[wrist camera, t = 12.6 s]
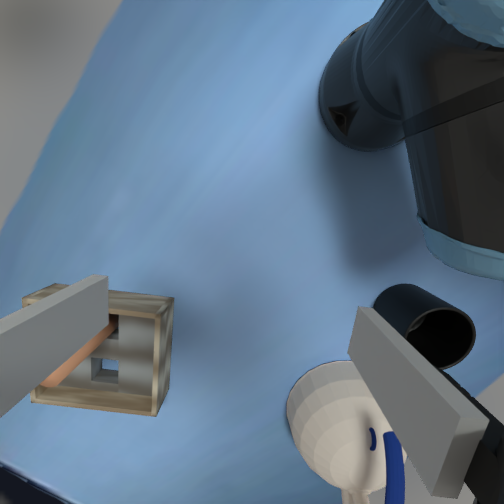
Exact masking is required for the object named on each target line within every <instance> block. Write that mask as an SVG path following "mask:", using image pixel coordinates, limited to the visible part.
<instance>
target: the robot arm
mask: <svg viewBox="0 0 504 504" xmlns="http://www.w3.org/2000/svg"><path fill="white" fill-rule="evenodd" d="M319 104H320V110H321V114H322V118H323V120H324V123H325V125H326V126H327V128H328V130H329V131H330V133H331V134H332V135H333V136H334V137H335V138H336V139H337V140H338V141H339V142H341V143H342V144H344V145H345V146H347V147H350V148H352V149H355V150H360V151H377V150H382V149H385V148H388V147H390V146H393V145H395V144H398V143H400V142H402V141H403V140H405V143H406V148H407V153H408V158H409V163H410V168H411V174H412V180H413V185H414V191H415V197H416V203H417V208H418V213H417V219H418V221H419V223H420V225H421V226H422V229H423V233H424V237H425V241H426V245H427V247H428V249H429V251H430V252H431V253H432V255H433V256H434V257H436V258H437V259H439V260H441V261H442V262H443V263H444V264H446V265H448V266H450V267H452V268H454V269H457V270H459V271H462V272H465V273H468V274H472V275H476V276H480V277H485V278H491V279H497V280H503V281H504V0H384V2H383V3H382V5H381V6H380V8H379V9H378V11H377V13H376V14H375V16H374V17H373V18H372V19H371V20H370V21H369V22H367V23H365V24H363V25H361V26H360V27H358V28H357V29H355V30H354V31H353V32H351V33H350V34H349V35H348V36H347V37H346V38H345V39H344V40H343V41H342V42H341V43H340V45H339V46H338V47H337V49H336V50H335V52H334V53H333V55H332V57H331V58H330V60H329V62H328V64H327V66H326V68H325V70H324V73H323V76H322V79H321V84H320V90H319ZM108 324H109V308H108V276H103V275H95V274H93V275H91V276H89V277H87V278H85V279H83V280H81V281H79V282H77V283H74V284H72V285H70V286H68V287H66V288H64V289H62V290H60V291H58V292H56V293H54V294H51V295H49V296H47V297H45V298H43V299H41V300H39V301H37V302H35V303H33V304H31V305H29V306H26V307H24V308H22V309H20V310H18V311H16V312H14V313H12V314H10V315H8V316H6V317H4V318H1V319H0V418H1V417H2V416H3V415H4V414H6V413H7V412H8V411H9V410H10V409H11V408H12V407H14V406H15V405H16V404H17V403H18V402H19V401H21V400H22V399H23V398H24V397H25V396H26V395H27V394H29V393H30V392H31V391H32V390H33V389H34V388H36V387H37V386H38V385H39V384H40V383H41V382H42V381H44V380H45V379H46V378H47V377H48V376H49V375H51V374H52V373H53V372H54V371H55V370H56V369H57V368H59V367H60V366H61V365H62V364H63V363H64V362H66V361H67V360H68V359H69V358H70V357H71V356H72V355H74V354H75V353H76V352H77V351H78V350H79V349H81V348H82V347H83V346H84V345H85V344H86V343H87V342H89V341H90V340H91V339H92V338H93V337H94V336H96V335H97V334H98V333H99V332H100V331H101V330H102V329H104V328H105V327H106V326H107V325H108ZM347 353H348V354H349V356H350V358H351V360H352V361H353V363H354V365H355V366H356V368H357V370H358V372H359V373H360V375H361V377H362V378H363V380H364V382H365V384H366V385H367V387H368V389H369V390H370V392H371V394H372V396H373V397H374V399H375V401H376V402H377V404H378V406H379V407H380V409H381V411H382V413H383V414H384V416H385V418H386V419H387V421H388V423H389V425H390V426H391V428H392V430H393V431H394V433H395V435H396V437H397V438H398V440H399V442H400V443H401V445H402V447H403V449H404V450H405V452H406V454H407V455H408V457H409V459H410V460H411V462H412V464H413V466H414V467H415V469H416V471H417V472H418V474H419V476H420V478H421V479H422V481H423V483H424V484H425V486H426V488H427V490H428V491H429V493H430V495H431V496H438V497H447V498H456V499H457V498H458V496H459V493H460V491H461V489H462V486H463V484H464V482H465V483H466V484H467V486H468V487H469V489H470V490H471V492H472V493H473V494H474V495H475V499H474V502H473V504H504V425H503V424H502V423H501V422H499V421H498V420H497V419H496V418H495V417H494V416H493V415H492V414H491V413H489V411H488V410H487V409H485V408H484V407H483V406H482V405H481V404H480V403H479V402H478V401H477V400H476V399H475V398H474V397H471V396H470V394H469V393H468V392H467V391H466V390H465V389H464V388H463V387H460V384H458V383H457V382H456V381H455V380H454V379H453V378H452V377H451V376H450V375H449V374H447V373H446V372H444V371H443V370H441V369H440V368H438V367H436V366H435V365H432V364H430V363H429V362H428V361H427V360H426V359H425V358H424V357H423V356H422V355H421V354H420V353H419V352H418V351H417V350H416V349H415V348H414V347H413V346H412V345H411V344H410V343H409V342H407V341H406V340H405V339H404V338H403V337H402V336H401V335H400V334H399V333H398V332H397V331H396V330H395V329H394V328H393V327H392V326H391V325H390V324H389V323H388V322H387V321H386V320H385V319H383V318H382V317H381V316H380V315H379V314H378V313H377V312H376V311H375V310H374V309H373V308H367V307H359V306H358V310H357V314H356V318H355V322H354V327H353V331H352V335H351V339H350V344H349V348H348V352H347Z"/></svg>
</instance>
